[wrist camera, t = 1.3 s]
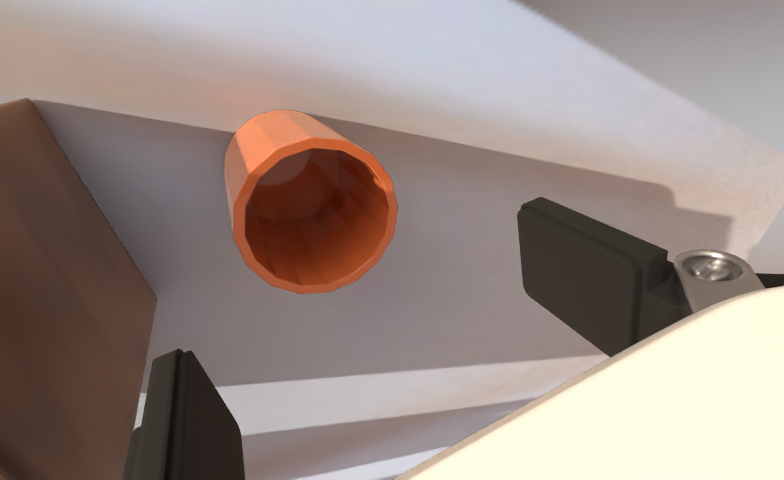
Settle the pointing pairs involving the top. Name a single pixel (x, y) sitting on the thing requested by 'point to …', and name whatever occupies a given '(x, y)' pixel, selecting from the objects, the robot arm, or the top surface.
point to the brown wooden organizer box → (63, 316)
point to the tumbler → (306, 203)
